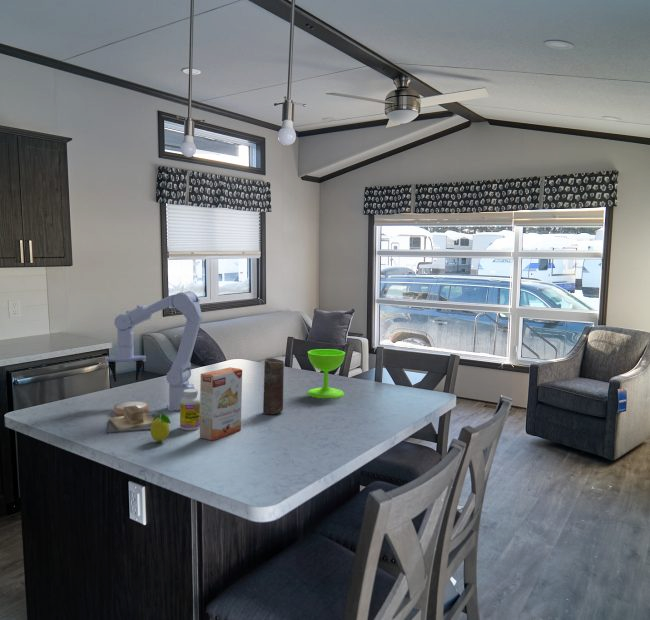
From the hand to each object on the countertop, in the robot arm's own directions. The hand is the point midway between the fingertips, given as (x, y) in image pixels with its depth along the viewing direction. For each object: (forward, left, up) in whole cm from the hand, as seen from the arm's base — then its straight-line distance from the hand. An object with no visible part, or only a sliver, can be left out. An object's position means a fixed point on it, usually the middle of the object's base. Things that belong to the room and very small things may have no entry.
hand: (126, 380), depth 210 cm
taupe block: (-3, +26, -9) cm, 27 cm away
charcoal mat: (-3, +26, -9) cm, 28 cm away
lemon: (-11, +47, -10) cm, 49 cm away
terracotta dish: (-2, +11, -9) cm, 15 cm away
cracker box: (-30, +44, -10) cm, 54 cm away
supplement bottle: (-21, +35, -10) cm, 42 cm away
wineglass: (-80, +2, -10) cm, 81 cm away
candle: (-52, +24, -10) cm, 58 cm away
